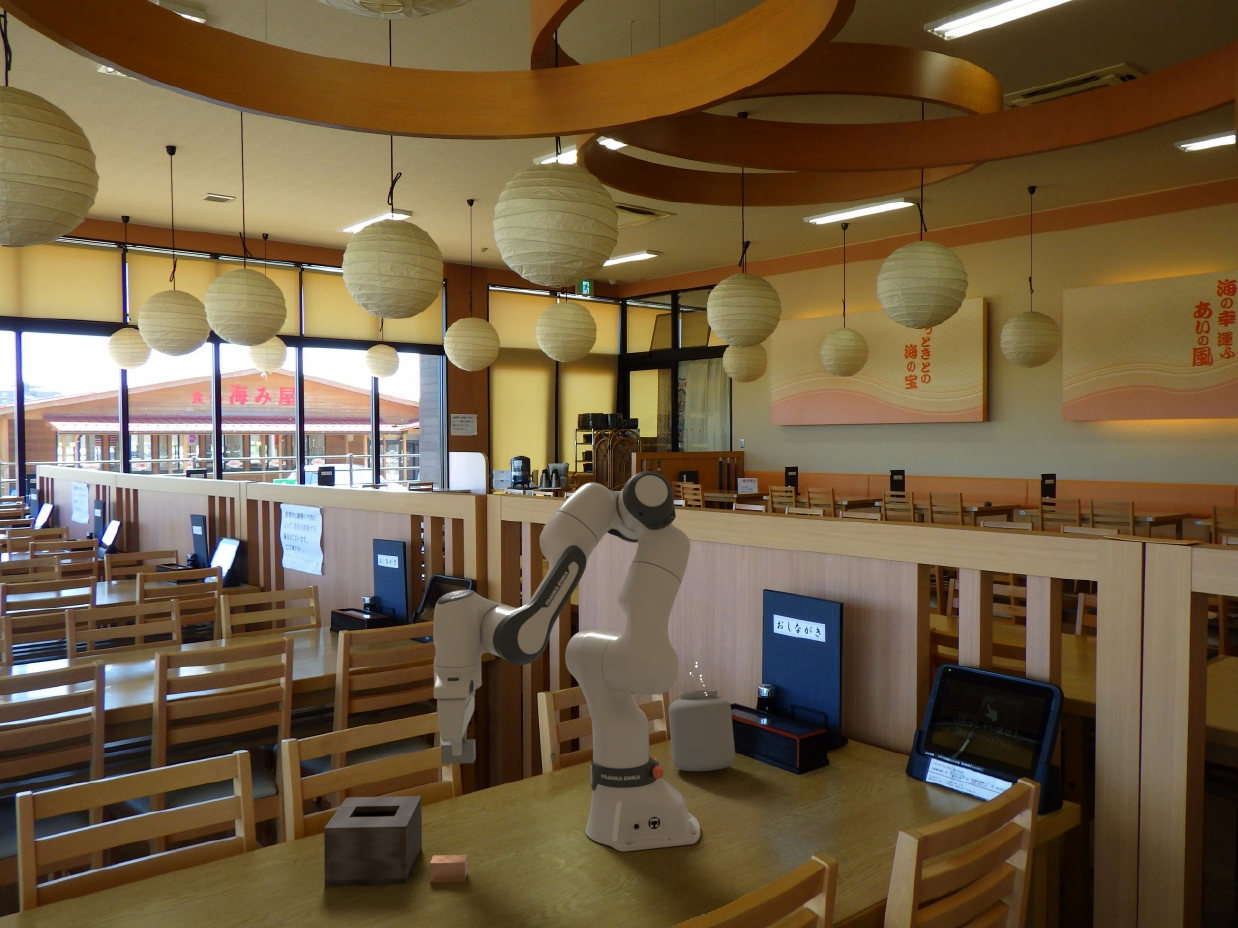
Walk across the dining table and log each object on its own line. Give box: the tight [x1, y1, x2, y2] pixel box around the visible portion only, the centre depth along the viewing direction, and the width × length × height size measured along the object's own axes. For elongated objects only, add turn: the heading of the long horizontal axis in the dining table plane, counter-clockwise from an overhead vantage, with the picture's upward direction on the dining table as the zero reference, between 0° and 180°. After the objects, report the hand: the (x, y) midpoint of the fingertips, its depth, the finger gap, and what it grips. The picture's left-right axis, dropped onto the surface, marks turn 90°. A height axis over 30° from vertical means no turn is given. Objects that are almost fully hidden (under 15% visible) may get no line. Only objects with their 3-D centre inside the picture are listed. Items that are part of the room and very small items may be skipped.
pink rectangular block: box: [429, 854, 468, 883], centre depth 155 cm, size 6×3×4 cm, turn 92°
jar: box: [668, 661, 736, 772], centre depth 210 cm, size 19×15×25 cm
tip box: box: [323, 795, 423, 887], centre depth 159 cm, size 14×14×10 cm
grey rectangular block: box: [440, 738, 477, 765], centre depth 167 cm, size 6×3×4 cm, turn 92°
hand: (459, 750), depth 167 cm, fingers closed on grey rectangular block, 3 cm apart
